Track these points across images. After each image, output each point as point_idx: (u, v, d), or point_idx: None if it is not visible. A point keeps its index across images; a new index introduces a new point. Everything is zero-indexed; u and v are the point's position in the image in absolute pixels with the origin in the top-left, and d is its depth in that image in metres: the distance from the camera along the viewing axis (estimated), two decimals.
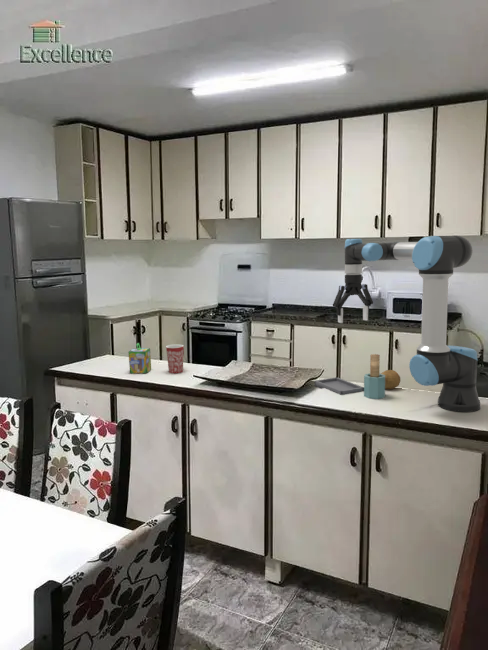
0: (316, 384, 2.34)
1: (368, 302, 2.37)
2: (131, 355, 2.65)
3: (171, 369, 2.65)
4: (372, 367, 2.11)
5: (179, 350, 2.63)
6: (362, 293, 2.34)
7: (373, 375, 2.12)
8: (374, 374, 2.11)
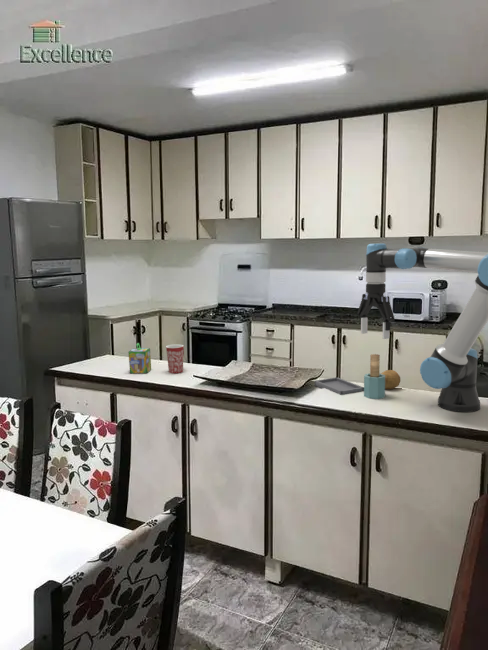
0: (316, 384, 2.34)
1: (385, 318, 2.02)
2: (131, 355, 2.65)
3: (171, 369, 2.65)
4: (372, 367, 2.11)
5: (179, 350, 2.63)
6: (378, 306, 2.05)
7: (373, 375, 2.12)
8: (374, 374, 2.11)
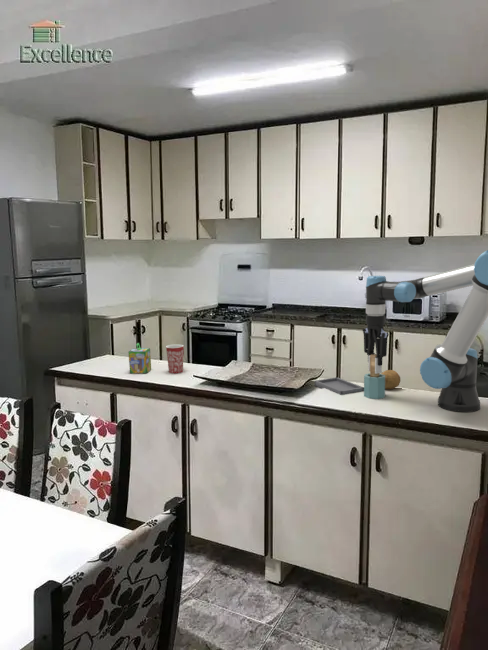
0: (316, 384, 2.34)
1: (378, 354, 2.08)
2: (131, 355, 2.65)
3: (171, 369, 2.65)
4: (372, 367, 2.11)
5: (179, 350, 2.63)
6: (375, 339, 2.08)
7: (373, 375, 2.12)
8: (374, 374, 2.11)
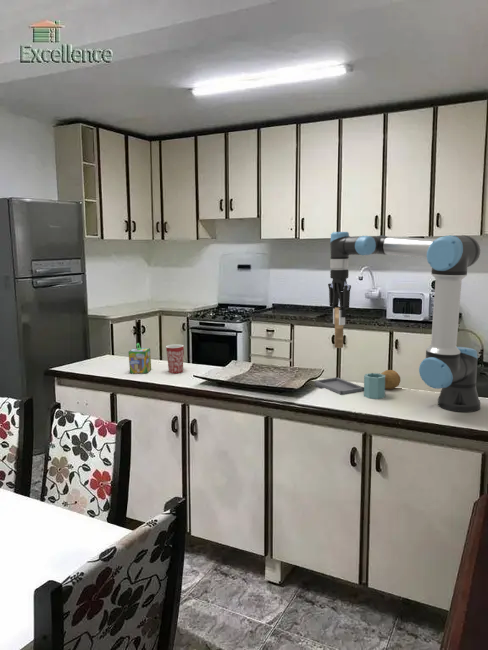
0: (316, 384, 2.34)
1: (341, 306, 2.19)
2: (131, 355, 2.65)
3: (171, 369, 2.65)
4: (336, 319, 2.23)
5: (179, 350, 2.63)
6: (339, 292, 2.19)
7: (337, 327, 2.23)
8: (338, 326, 2.23)
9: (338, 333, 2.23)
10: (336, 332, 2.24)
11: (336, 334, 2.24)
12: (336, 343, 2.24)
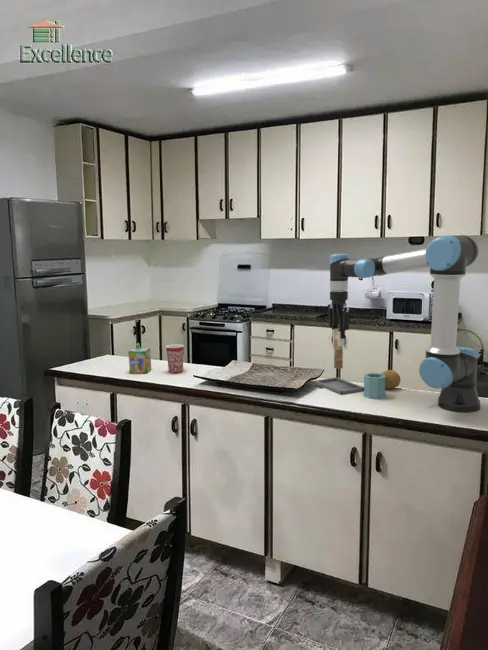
0: (316, 384, 2.34)
1: (340, 327, 2.21)
2: (131, 355, 2.65)
3: (171, 369, 2.65)
4: (336, 340, 2.24)
5: (179, 350, 2.63)
6: (338, 314, 2.21)
7: (337, 348, 2.24)
8: (337, 346, 2.24)
9: (338, 354, 2.25)
10: (335, 353, 2.25)
11: (335, 355, 2.25)
12: (335, 364, 2.26)
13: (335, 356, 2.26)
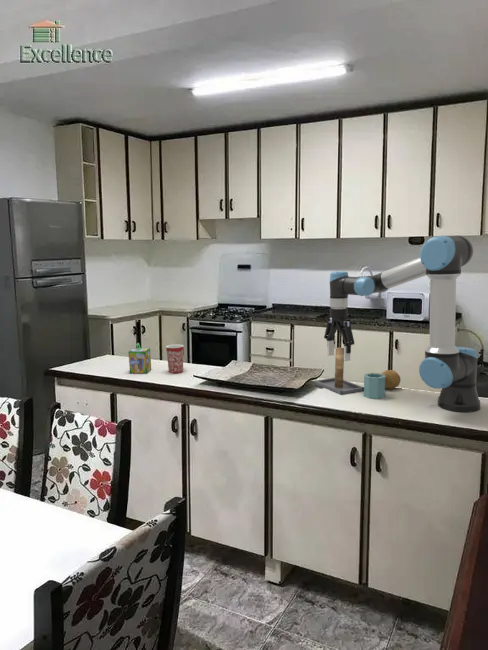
0: (316, 384, 2.34)
1: (346, 342, 2.19)
2: (131, 355, 2.65)
3: (171, 369, 2.65)
4: (337, 360, 2.25)
5: (179, 350, 2.63)
6: (340, 330, 2.21)
7: (337, 367, 2.25)
8: (338, 366, 2.25)
9: (339, 373, 2.26)
10: (336, 372, 2.26)
11: (336, 374, 2.26)
12: (336, 383, 2.27)
13: (336, 375, 2.27)
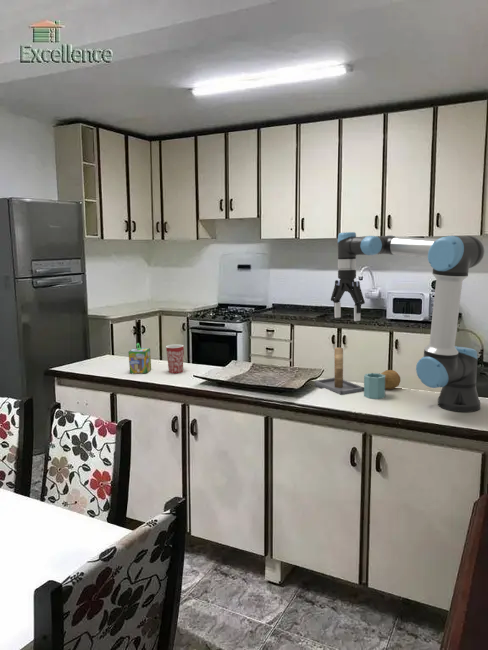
0: (316, 384, 2.34)
1: (356, 301, 2.17)
2: (131, 355, 2.65)
3: (171, 369, 2.65)
4: (336, 360, 2.25)
5: (179, 350, 2.63)
6: (349, 290, 2.19)
7: (337, 367, 2.26)
8: (337, 366, 2.25)
9: (338, 373, 2.26)
10: (336, 372, 2.26)
11: (336, 374, 2.26)
12: (336, 383, 2.27)
13: (335, 375, 2.27)
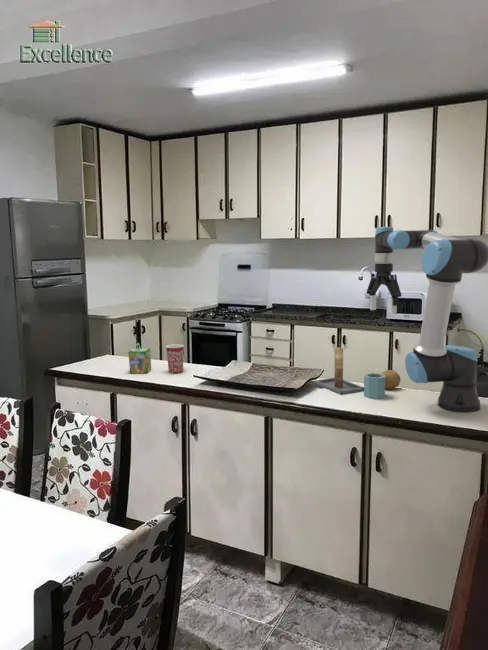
0: (316, 384, 2.34)
1: (392, 294, 2.22)
2: (131, 355, 2.65)
3: (171, 369, 2.65)
4: (336, 360, 2.25)
5: (179, 350, 2.63)
6: (386, 283, 2.25)
7: (337, 367, 2.26)
8: (337, 366, 2.25)
9: (338, 373, 2.26)
10: (336, 372, 2.26)
11: (336, 374, 2.26)
12: (336, 383, 2.27)
13: (335, 375, 2.27)
